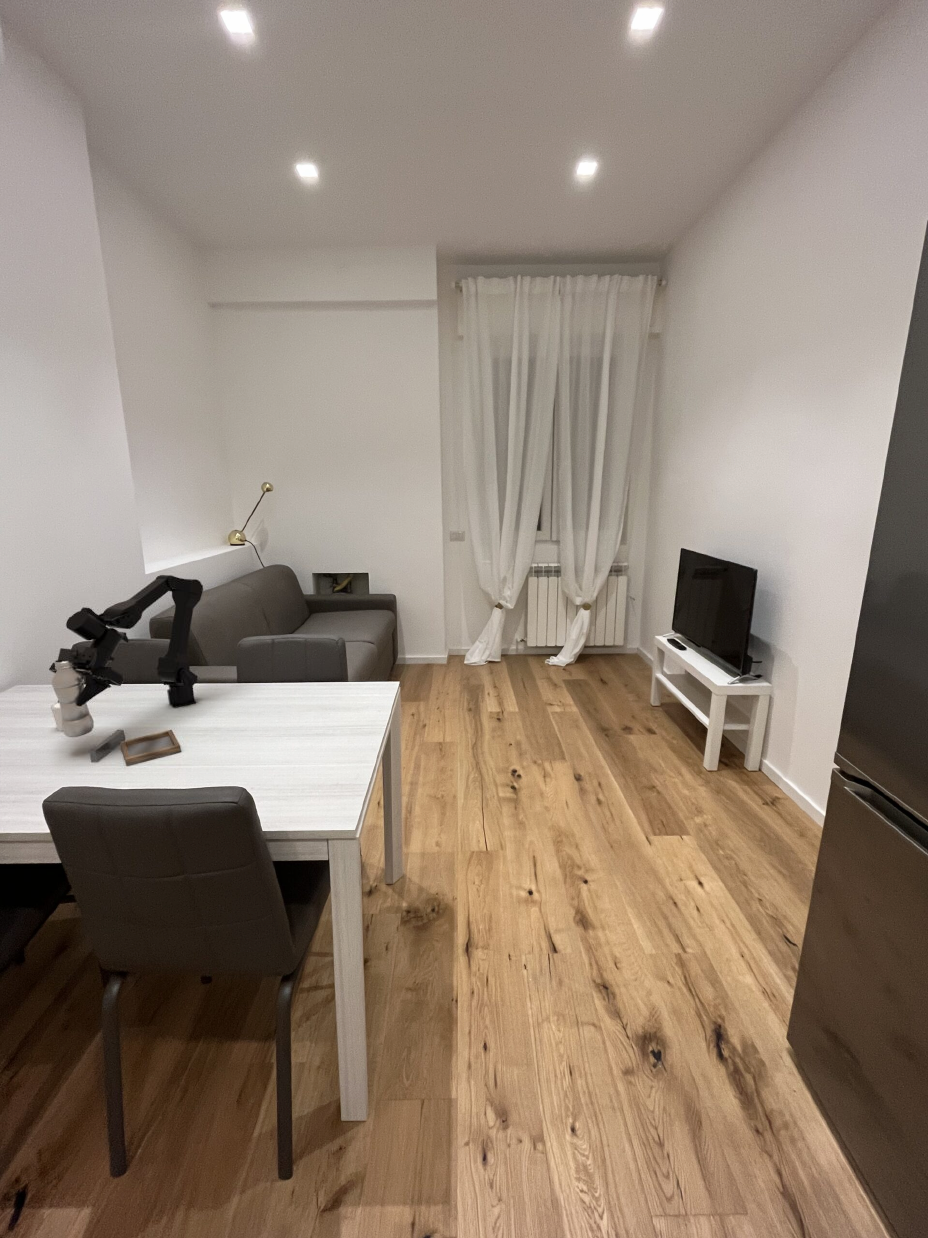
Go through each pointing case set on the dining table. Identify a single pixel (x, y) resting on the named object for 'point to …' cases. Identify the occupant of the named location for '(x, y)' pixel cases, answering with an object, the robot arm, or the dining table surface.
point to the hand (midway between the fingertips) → (68, 704)
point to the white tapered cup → (57, 715)
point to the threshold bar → (106, 746)
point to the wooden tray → (149, 747)
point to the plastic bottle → (71, 700)
